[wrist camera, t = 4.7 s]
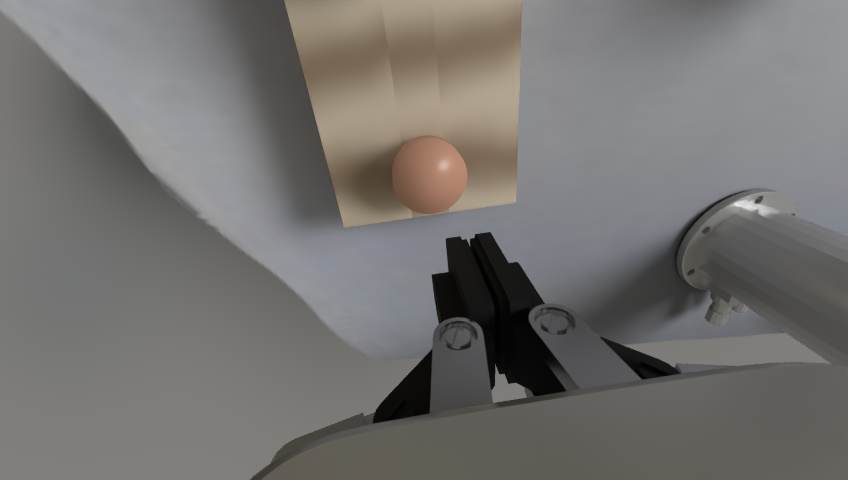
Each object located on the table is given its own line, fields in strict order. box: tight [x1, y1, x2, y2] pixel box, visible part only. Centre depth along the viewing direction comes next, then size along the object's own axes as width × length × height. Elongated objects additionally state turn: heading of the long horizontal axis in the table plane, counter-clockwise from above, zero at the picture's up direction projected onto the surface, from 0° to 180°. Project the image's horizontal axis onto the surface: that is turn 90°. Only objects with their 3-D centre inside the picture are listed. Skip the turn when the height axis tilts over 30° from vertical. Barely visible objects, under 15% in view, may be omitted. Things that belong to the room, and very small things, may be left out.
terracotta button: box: [392, 135, 467, 214], centre depth 24 cm, size 5×5×6 cm
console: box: [284, 0, 522, 228], centre depth 23 cm, size 22×14×5 cm, turn 7°
